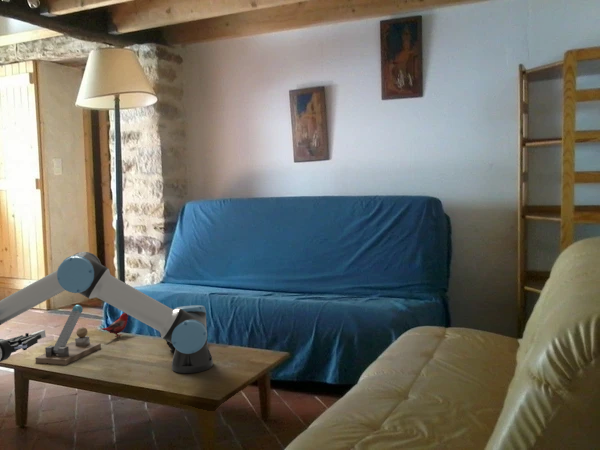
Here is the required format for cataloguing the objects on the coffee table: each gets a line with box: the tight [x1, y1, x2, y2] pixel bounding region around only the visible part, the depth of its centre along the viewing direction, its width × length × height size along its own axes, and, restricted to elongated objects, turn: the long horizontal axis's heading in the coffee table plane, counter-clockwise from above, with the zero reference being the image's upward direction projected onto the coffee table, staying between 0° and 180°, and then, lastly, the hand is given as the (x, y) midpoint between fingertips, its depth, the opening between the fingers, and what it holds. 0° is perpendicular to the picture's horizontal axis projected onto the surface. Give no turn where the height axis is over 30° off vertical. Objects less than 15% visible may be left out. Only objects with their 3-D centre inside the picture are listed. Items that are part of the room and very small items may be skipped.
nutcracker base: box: [35, 326, 102, 366], centre depth 223 cm, size 22×14×9 cm, turn 165°
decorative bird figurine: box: [99, 312, 130, 338], centre depth 247 cm, size 3×18×10 cm, turn 153°
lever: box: [52, 304, 84, 355], centre depth 222 cm, size 4×4×22 cm
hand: (43, 333), depth 209 cm, fingers closed
